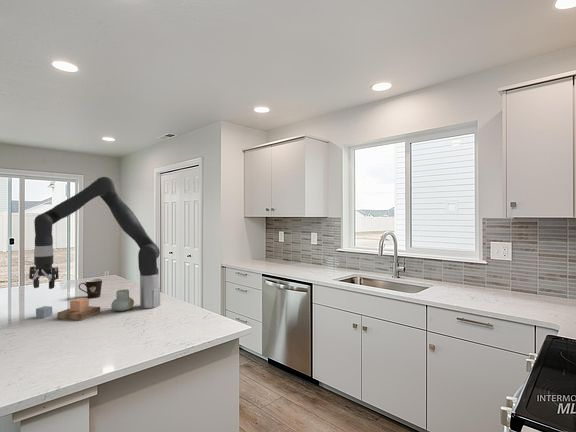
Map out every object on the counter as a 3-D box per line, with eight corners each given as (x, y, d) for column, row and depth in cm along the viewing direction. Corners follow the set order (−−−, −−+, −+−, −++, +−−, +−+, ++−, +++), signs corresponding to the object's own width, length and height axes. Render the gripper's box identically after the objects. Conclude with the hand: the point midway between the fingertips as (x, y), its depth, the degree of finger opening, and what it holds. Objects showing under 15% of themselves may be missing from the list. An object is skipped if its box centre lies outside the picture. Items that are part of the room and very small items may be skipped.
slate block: (52, 315, 161) (52, 306, 161) (43, 318, 157) (43, 309, 157) (44, 315, 162) (44, 306, 162) (35, 318, 158) (35, 308, 158)
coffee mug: (105, 295, 201) (105, 279, 200) (95, 298, 192) (95, 281, 192) (87, 294, 202) (87, 278, 202) (77, 298, 193) (77, 281, 193)
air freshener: (125, 312, 165) (125, 293, 165) (109, 312, 165) (109, 293, 165) (135, 306, 176) (135, 288, 176) (120, 306, 176) (120, 288, 176)
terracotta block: (88, 308, 163) (88, 298, 163) (79, 311, 157) (79, 301, 157) (79, 307, 164) (79, 297, 164) (69, 311, 158) (69, 300, 158)
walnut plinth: (100, 312, 165) (100, 306, 165) (81, 320, 153) (81, 314, 153) (77, 311, 168) (77, 305, 167) (57, 318, 156) (57, 312, 156)
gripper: (63, 254, 162) (63, 287, 162) (38, 253, 164) (38, 285, 164) (49, 256, 154) (49, 290, 154) (24, 255, 157) (24, 289, 157)
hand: (43, 288), depth 159 cm, fingers open, 8 cm apart
